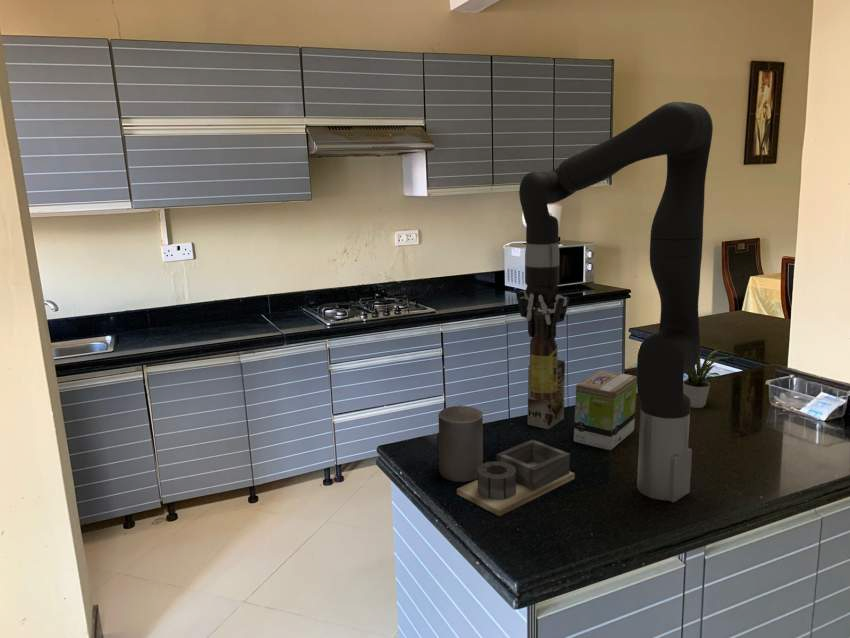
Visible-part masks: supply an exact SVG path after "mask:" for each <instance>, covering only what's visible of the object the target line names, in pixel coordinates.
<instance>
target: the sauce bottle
mask: <svg viewBox="0 0 850 638" xmlns="http://www.w3.org/2000/svg"><path fill="white" fill-rule="evenodd" d="M550 315H551V314H550ZM551 319H552V318H551ZM534 320H535V334H534V336H533V337H531V339H530V341H529V350H530V351H529V365H530V390H531V397H532V398H534V399H537V400H551V399H554V398H556V396H557V364H558V363H557V360H558V344H557V342H556V340H555V338H554V340H551V341H548V340H547V339H546V325H547V322H546V318H545V315H544V314H543V312H542V310H540V311H539V312H535V313H534Z"/></svg>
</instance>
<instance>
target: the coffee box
mask: <svg viewBox="0 0 850 638" xmlns="http://www.w3.org/2000/svg"><path fill="white" fill-rule="evenodd" d="M557 363H558V364H557V396H556V398H554V399H551V400H537V399H534V398H532V397H531V390H530V364H529V365H528V368H527V369H528V372H527V374H528V376H527V425H529V426H533V427H537V428H541V429H544V430H550V429H551V428H553V427H554V426H555V425H557V424H559V423H560V422H561V421H563V420H564V419H565V381H566V380H565V377H566V376H565V370H566V360H561V359H557Z"/></svg>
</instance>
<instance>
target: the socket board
mask: <svg viewBox="0 0 850 638" xmlns="http://www.w3.org/2000/svg"><path fill="white" fill-rule="evenodd" d="M570 459H571V453H569V452H567V451H564V450H561V449H559V448H556V447H553V446H551V445H548V444H545V443H543V442H540V441H538V440H535V439H530V440H528V441H525V442H522V443H520V444H518V445H515V446H513V447H511V448H508V449H506V450H504V451H500V452H498V453H496V461H486V462H483V464H482V465H479V467H478V478H477V479H475V480H472V481H470V482H469V483H466V484H465V485H462V486H460V487H458V488H456V495H458V496H460V497H461V498H464V499H465V500H466V501H469V502H471V503H473V504H475V505H476V506H479V507H480V508H483V509H484V510H486V511H488V512H490V513H491V514H494V515H496V516H497V517H501V516H503V515H505V514H507V513H509V512H511V511H514V510H515V509H517V508H519V507H521V506H523V505H525V504H527V503H529V502H531V501H533V500H535V499H537V498H539V497H541V496H543V495H545V494H547V493H549V492H551V491H552V490H555V489H557V488H559V487H561V486H563V485H565V484H567V483H569V482H570V481H572V480H573V481H574V480H575V478H576V477H575V476H576V474H575V472H572V471H570V468H571V467H570V465H571V464H570V463H571V461H570Z"/></svg>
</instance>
